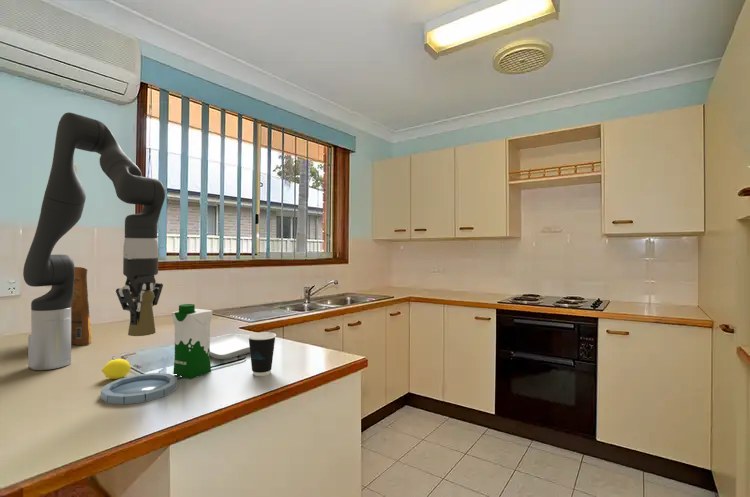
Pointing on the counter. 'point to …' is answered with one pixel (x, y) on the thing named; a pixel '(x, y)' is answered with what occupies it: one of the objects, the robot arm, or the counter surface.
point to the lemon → (116, 368)
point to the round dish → (139, 388)
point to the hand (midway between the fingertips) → (140, 324)
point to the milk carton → (192, 341)
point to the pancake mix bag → (80, 310)
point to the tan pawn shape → (144, 317)
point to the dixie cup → (261, 352)
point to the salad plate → (229, 346)
